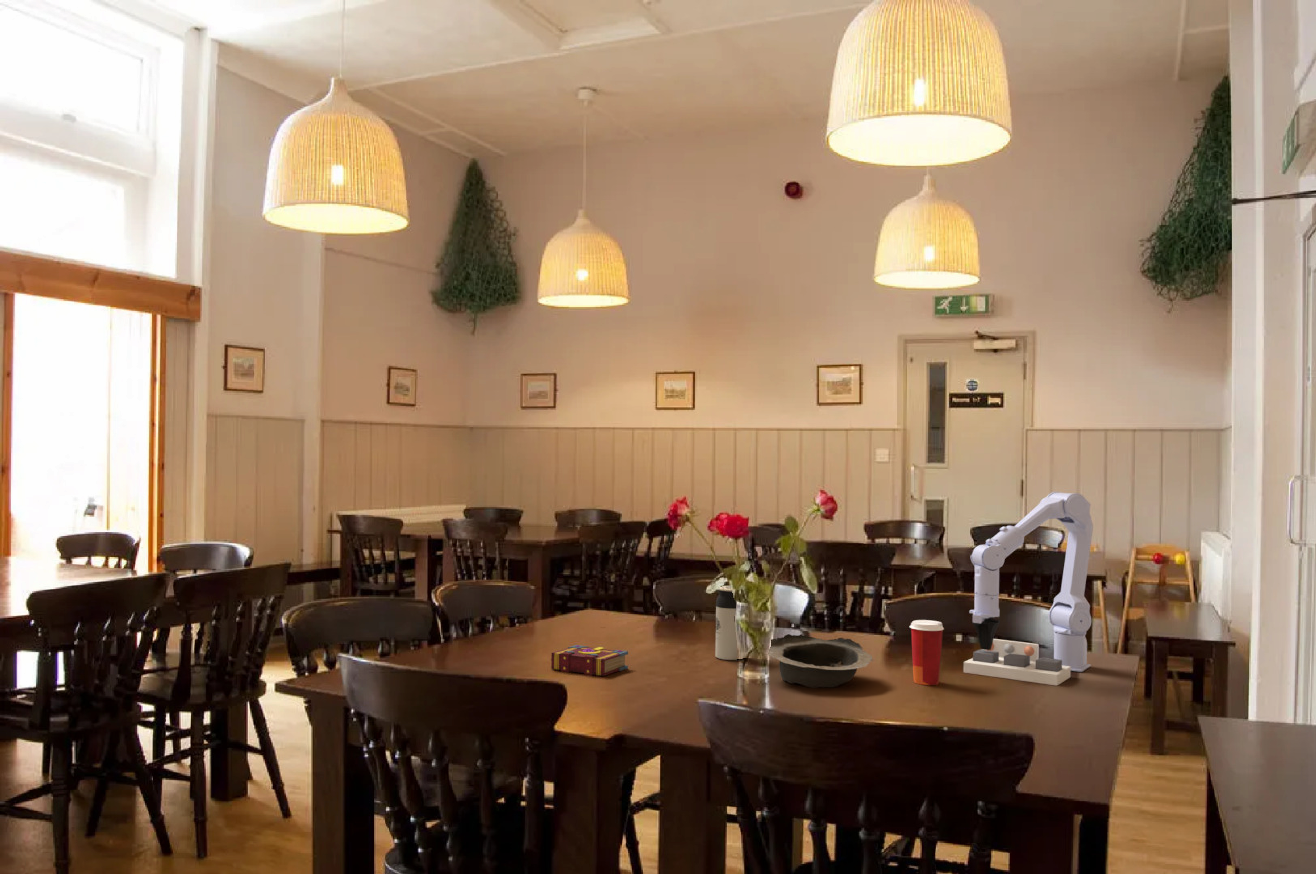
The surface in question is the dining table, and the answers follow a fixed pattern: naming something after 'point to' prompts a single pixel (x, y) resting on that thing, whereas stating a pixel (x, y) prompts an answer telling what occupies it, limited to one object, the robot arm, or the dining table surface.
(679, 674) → the dining table surface
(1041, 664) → the button cup side
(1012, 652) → the card
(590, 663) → the decorative book
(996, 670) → the button board
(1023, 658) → the button middle
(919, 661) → the paper cup
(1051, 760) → the dining table surface
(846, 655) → the stone bowl
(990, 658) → the button mug side
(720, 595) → the travel mug
